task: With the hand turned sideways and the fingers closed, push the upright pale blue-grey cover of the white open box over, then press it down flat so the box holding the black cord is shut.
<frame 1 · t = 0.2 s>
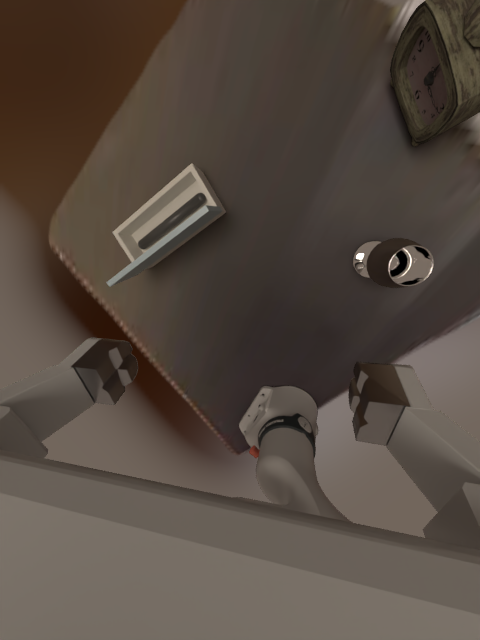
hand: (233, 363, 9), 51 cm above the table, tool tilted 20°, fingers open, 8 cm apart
white open box: (174, 223, 61), on the table
tabletop clock: (420, 104, 45), on the table
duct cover: (165, 246, 51), point 11 cm above the table, hinge at 98.0°
wineglass: (371, 259, 54), on the table
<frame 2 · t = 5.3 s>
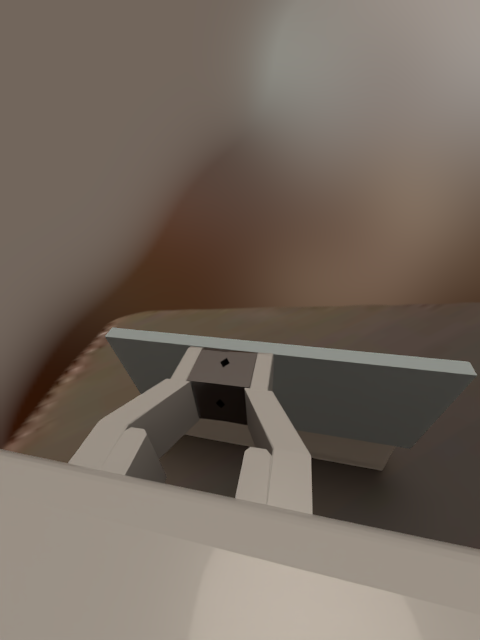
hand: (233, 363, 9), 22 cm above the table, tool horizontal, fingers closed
white open box: (271, 412, 33), on the table
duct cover: (265, 389, 21), point 11 cm above the table, hinge at 98.0°
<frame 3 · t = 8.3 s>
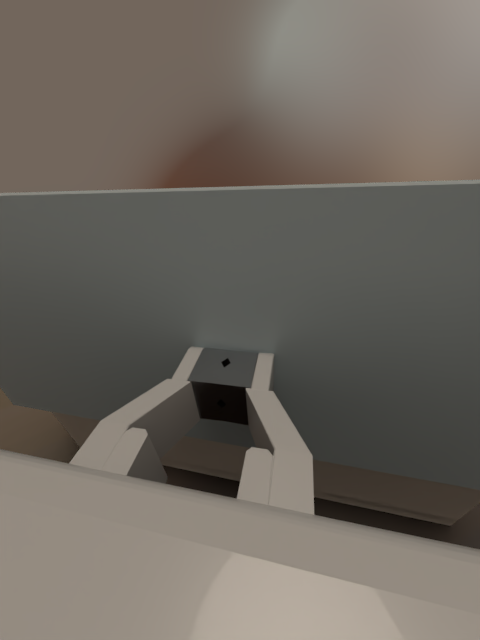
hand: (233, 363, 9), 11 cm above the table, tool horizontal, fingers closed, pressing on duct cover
white open box: (251, 413, 20), on the table
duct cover: (219, 347, 10), point 12 cm above the table, hinge at 85.9°, touching gripper
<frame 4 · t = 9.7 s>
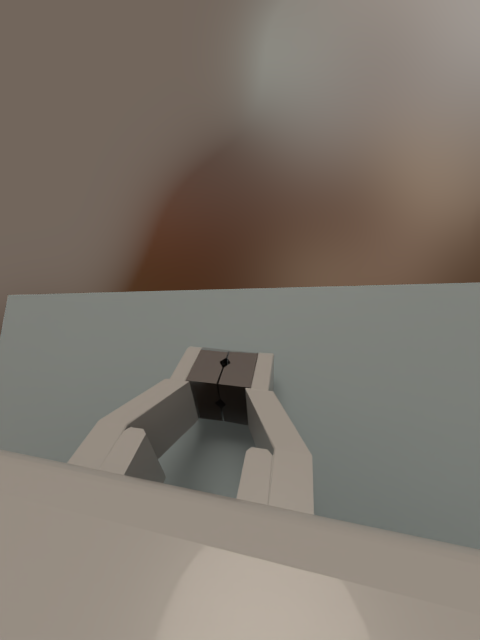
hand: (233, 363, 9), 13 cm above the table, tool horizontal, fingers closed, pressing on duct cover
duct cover: (238, 424, 10), point 11 cm above the table, hinge at 47.1°, touching gripper
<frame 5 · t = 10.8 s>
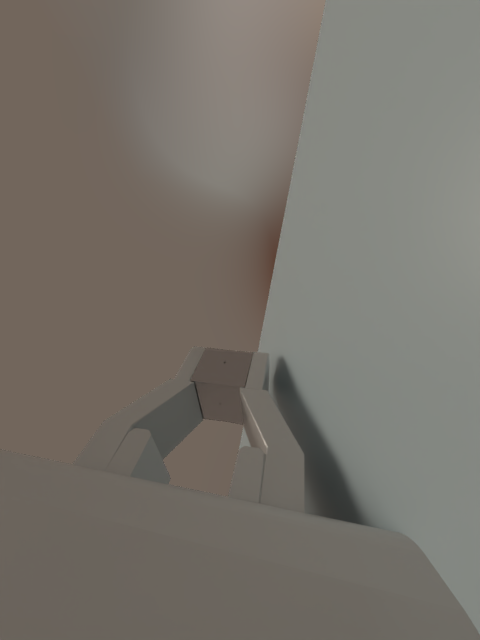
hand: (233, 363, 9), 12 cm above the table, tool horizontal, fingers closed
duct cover: (325, 478, 7), point 9 cm above the table, hinge at 23.5°, touching gripper
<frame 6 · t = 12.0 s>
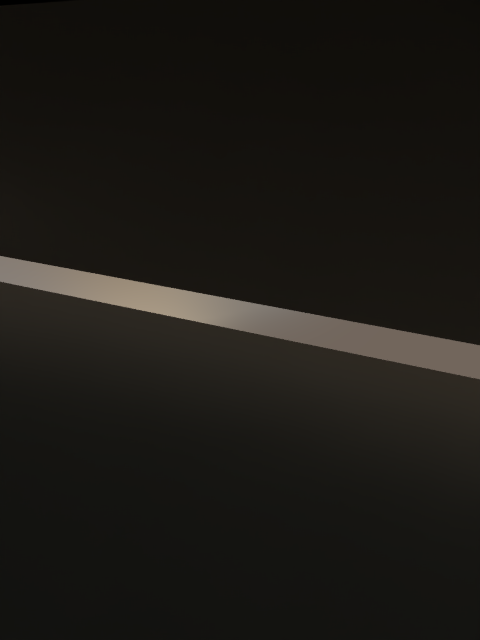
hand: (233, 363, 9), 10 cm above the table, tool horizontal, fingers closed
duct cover: (176, 611, 3), point 8 cm above the table, hinge at 8.8°, touching arm
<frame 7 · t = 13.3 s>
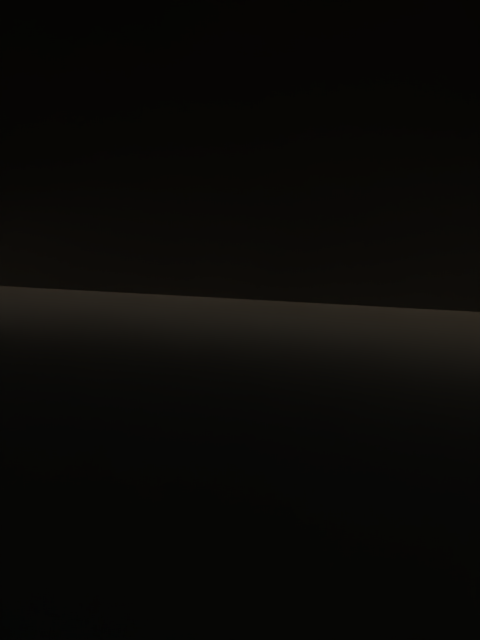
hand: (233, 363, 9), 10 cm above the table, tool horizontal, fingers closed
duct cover: (112, 582, 2), point 7 cm above the table, hinge at 2.7°
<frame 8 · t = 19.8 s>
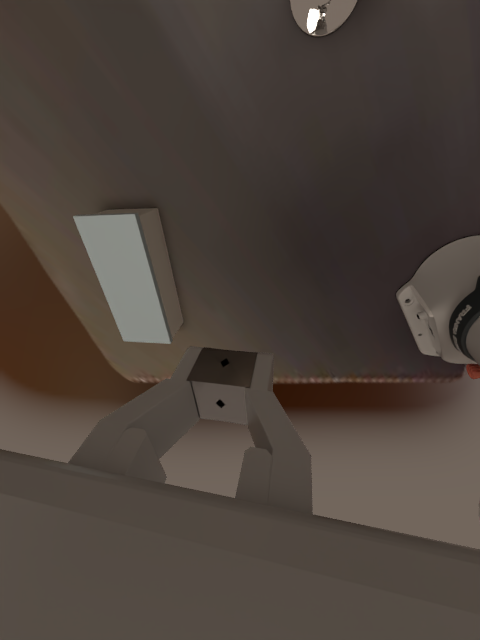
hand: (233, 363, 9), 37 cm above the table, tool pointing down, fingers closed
white open box: (149, 271, 52), on the table
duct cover: (129, 287, 46), point 7 cm above the table, hinge at 2.5°
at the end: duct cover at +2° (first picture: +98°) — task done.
